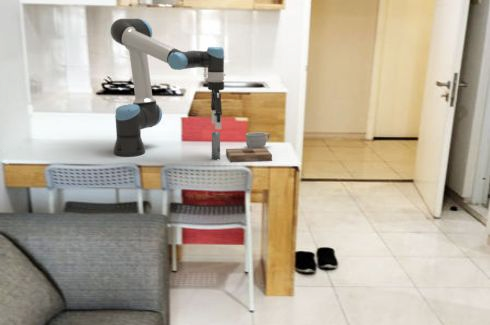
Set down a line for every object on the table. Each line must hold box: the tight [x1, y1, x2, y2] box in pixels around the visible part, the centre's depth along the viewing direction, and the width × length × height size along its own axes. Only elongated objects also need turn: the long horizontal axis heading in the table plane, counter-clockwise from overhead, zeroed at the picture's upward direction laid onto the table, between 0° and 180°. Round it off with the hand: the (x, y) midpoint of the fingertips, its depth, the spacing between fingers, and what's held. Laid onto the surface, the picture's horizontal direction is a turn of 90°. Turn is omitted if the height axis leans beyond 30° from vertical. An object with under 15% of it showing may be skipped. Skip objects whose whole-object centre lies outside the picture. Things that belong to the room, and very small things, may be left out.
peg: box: [211, 131, 221, 161], centre depth 253 cm, size 4×4×13 cm
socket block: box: [225, 147, 273, 163], centre depth 257 cm, size 14×20×3 cm
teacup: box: [245, 131, 271, 148], centre depth 276 cm, size 14×11×8 cm
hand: (216, 126), depth 250 cm, fingers open, 13 cm apart
